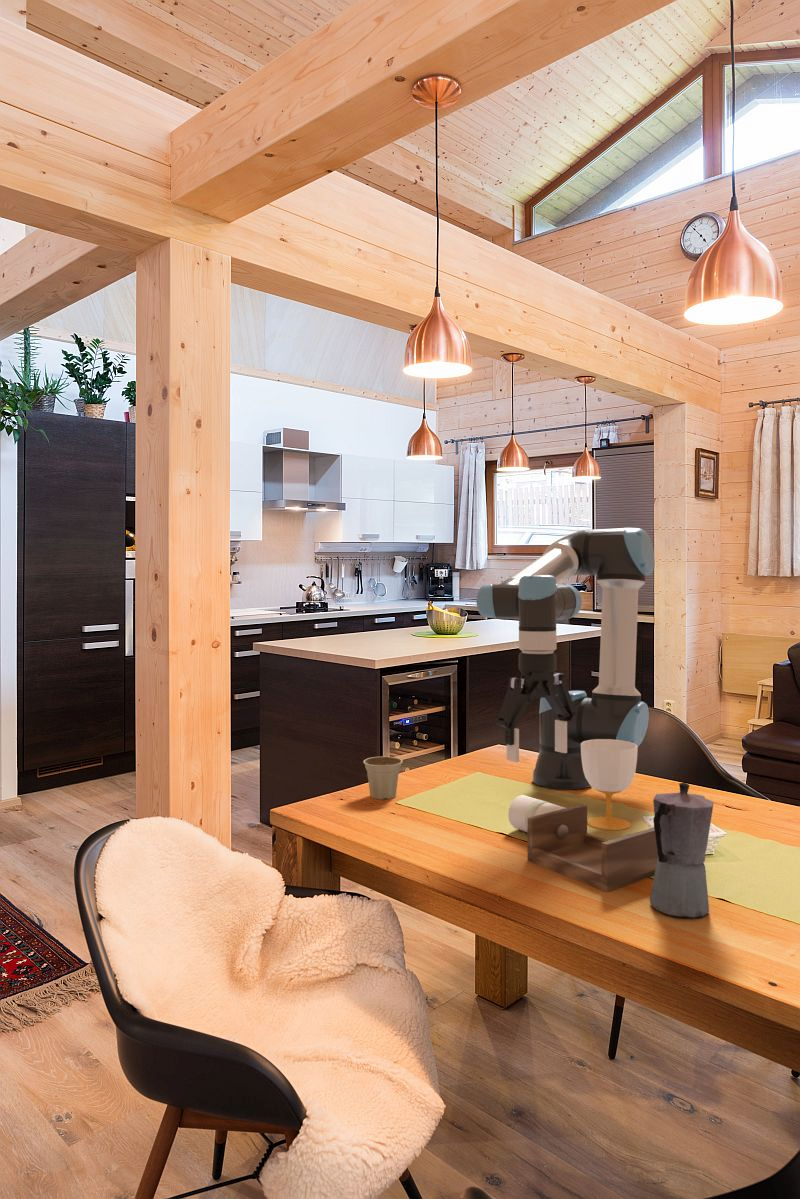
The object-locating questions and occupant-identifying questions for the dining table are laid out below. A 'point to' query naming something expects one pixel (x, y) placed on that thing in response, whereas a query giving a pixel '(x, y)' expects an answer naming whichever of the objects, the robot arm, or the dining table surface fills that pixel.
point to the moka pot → (681, 853)
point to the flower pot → (383, 776)
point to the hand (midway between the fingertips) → (537, 756)
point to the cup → (609, 774)
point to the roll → (528, 810)
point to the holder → (590, 850)
